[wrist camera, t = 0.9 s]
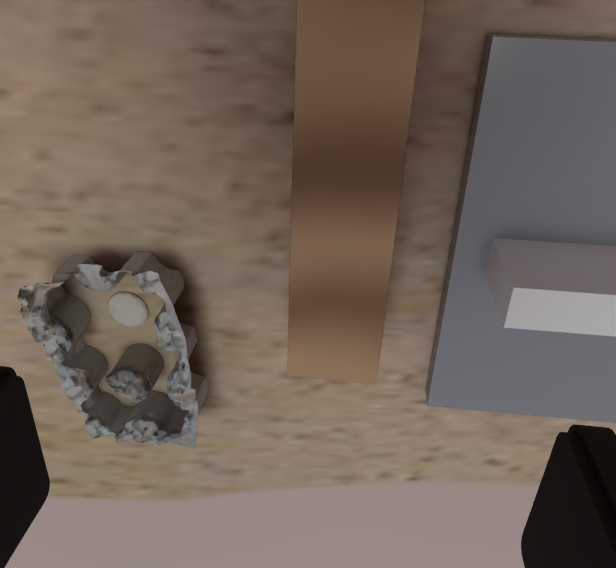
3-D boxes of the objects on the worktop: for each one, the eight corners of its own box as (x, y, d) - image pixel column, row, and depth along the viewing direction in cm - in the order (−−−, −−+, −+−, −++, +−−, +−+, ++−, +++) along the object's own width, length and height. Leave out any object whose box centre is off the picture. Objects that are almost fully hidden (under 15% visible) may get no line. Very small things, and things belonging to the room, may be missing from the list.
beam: (317, -164, 20) (302, -198, 16) (433, -160, 20) (449, -195, 15) (299, 315, 30) (287, 375, 25) (376, 322, 30) (376, 384, 25)
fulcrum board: (487, 33, 22) (519, 53, 17) (813, 47, 21) (944, 73, 16) (425, 390, 31) (435, 470, 26) (653, 411, 30) (706, 497, 25)
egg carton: (50, 245, 29) (5, 284, 26) (191, 246, 28) (165, 286, 25) (96, 405, 34) (64, 455, 31) (217, 409, 34) (198, 462, 30)
